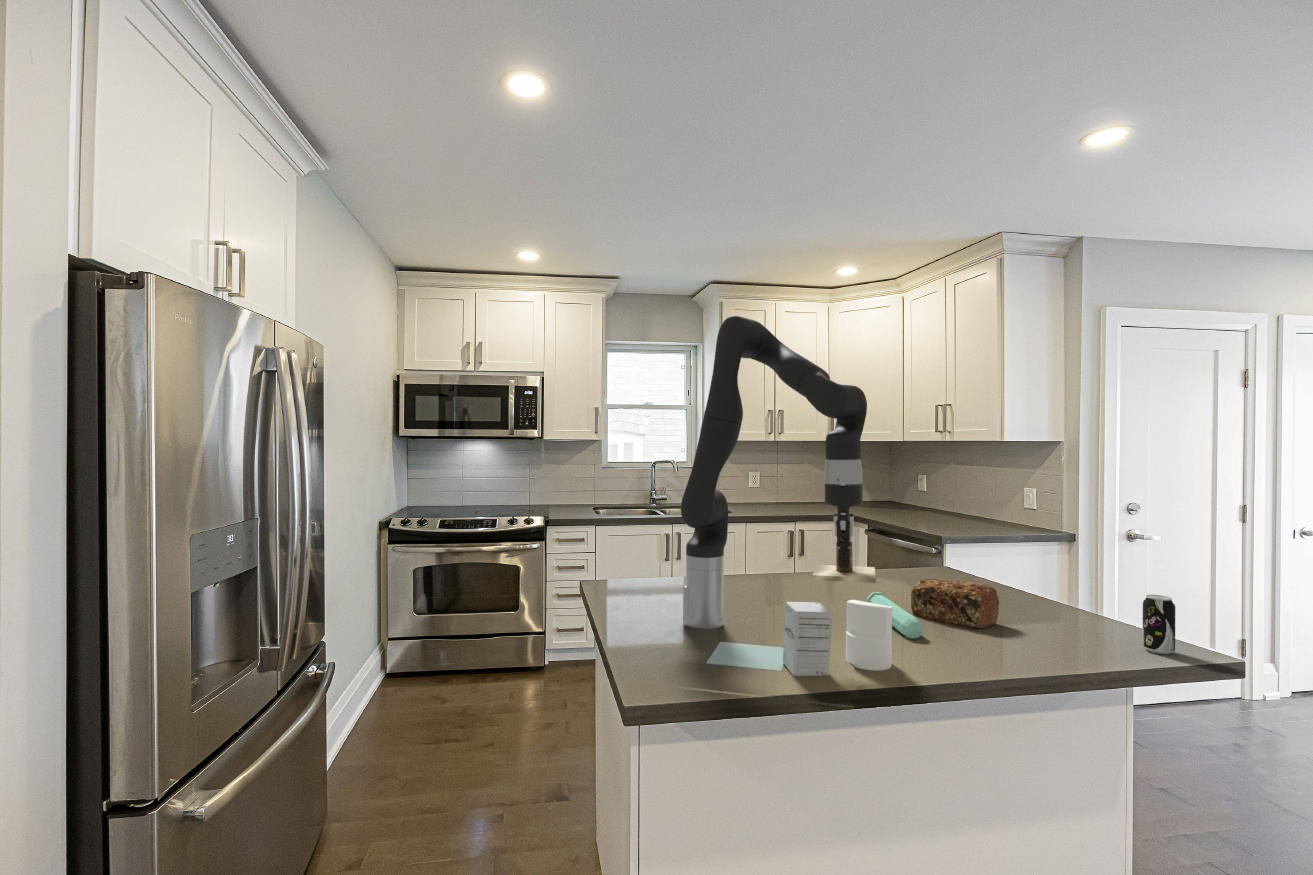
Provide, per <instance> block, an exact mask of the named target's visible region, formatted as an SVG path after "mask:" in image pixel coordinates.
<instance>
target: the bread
mask: <svg viewBox="0 0 1313 875" xmlns="http://www.w3.org/2000/svg"><path fill="white" fill-rule="evenodd" d="M910 599H911V600H910V608H911V613H912V614H913V616H917V617H918V616H919V617H922V618H925V619H930V620H935V621H940V622H943V621H944V623H950V624H954V625H957V626H961V627H966V628H974V629H975V628H976V629H984V628H988V627H991V626H994V625H995V624H997V623H998V622H997V621H998V616H999V609H1000V608H999V607H1000V606H999V605H1000V600H999V596H998V591H997V589H995V588H994V587H992V586H990V585H988V584H983V583H978V582H977V583H976V582H969V581H965V580H963V581H962V580H951V579H950V580H949V579H941V578H926V579H922V580H920V581H918V582H917V584H915V585H913V587H912V588H911V590H910Z"/></svg>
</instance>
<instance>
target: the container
mask: <svg viewBox="0 0 1313 875" xmlns="http://www.w3.org/2000/svg"><path fill="white" fill-rule="evenodd" d="M866 602H869V603H874V604H880V605H885V606H891V607H892V628H894V629H896V630H897V631H898V632H899V633H900V634H902V635H903V636H904V637H906V638H907V639H919V638H920V637H921V636H922V635H923V632H924V631H923V628H924V627H923V623H922V622H921V621H920V620H919V619H918V618H916V617H915V616H914V615H912V614H910V613H909V612H907V610H905V609H903V608H902V607H901V606H899V605H897V604H896V603H894V602H893V601H892V600H890V599H889V598H888V597H887V596H886V595H885V594H884V593H883V592H881V591H873V592H871V593H870V594H869V595H868V596H867V597H866Z"/></svg>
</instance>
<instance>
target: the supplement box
mask: <svg viewBox="0 0 1313 875" xmlns="http://www.w3.org/2000/svg"><path fill="white" fill-rule="evenodd" d="M832 624H833V613H832V611H831V610H829V609H828V608H827V607H825V606H824V605H822V603H820V602H814V601H811V602H810V601H809V602H808V601H786V602H785V616H784V629H783V632H784V633H783V663H784V664H783V665H785V666H786V668H787V669H788V671H789V672H790V674H791V675H792V676H793V677H803V676H804V677H808V676H811V677H812V676H813V677H814V676H829V674H830V673H829V672H830V656H831V643H832V642H831V640H832V639H831V638H832V626H833V625H832Z"/></svg>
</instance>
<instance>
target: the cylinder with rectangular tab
mask: <svg viewBox="0 0 1313 875" xmlns="http://www.w3.org/2000/svg"><path fill="white" fill-rule="evenodd" d="M845 618H846V626H845V628H846V630H845V660H846V662H848V663H849V664H851V665H853V666H852V667H853V668H856V669H861V670H865V671H885V670H888V669H890V668H892V665H893V664H892V663H893V662H892V660H893V659H892V656H893V654H892V652H893V626H892V607H891V606H885V605H880V604H874V603H869V602H867V601H862V600H858V599H850V600H847V601H846V617H845Z"/></svg>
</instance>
